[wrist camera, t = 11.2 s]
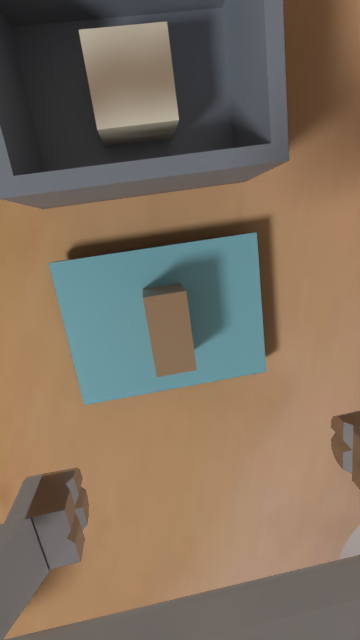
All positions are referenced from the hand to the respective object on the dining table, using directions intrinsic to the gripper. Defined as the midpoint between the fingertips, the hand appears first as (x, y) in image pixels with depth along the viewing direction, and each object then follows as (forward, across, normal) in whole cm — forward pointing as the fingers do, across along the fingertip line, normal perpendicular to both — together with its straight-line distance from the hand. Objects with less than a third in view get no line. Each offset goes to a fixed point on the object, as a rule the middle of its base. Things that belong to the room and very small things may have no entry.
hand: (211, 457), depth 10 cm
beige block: (+18, 0, -16) cm, 24 cm away
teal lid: (+19, 0, 0) cm, 19 cm away
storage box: (+19, 0, -16) cm, 24 cm away
